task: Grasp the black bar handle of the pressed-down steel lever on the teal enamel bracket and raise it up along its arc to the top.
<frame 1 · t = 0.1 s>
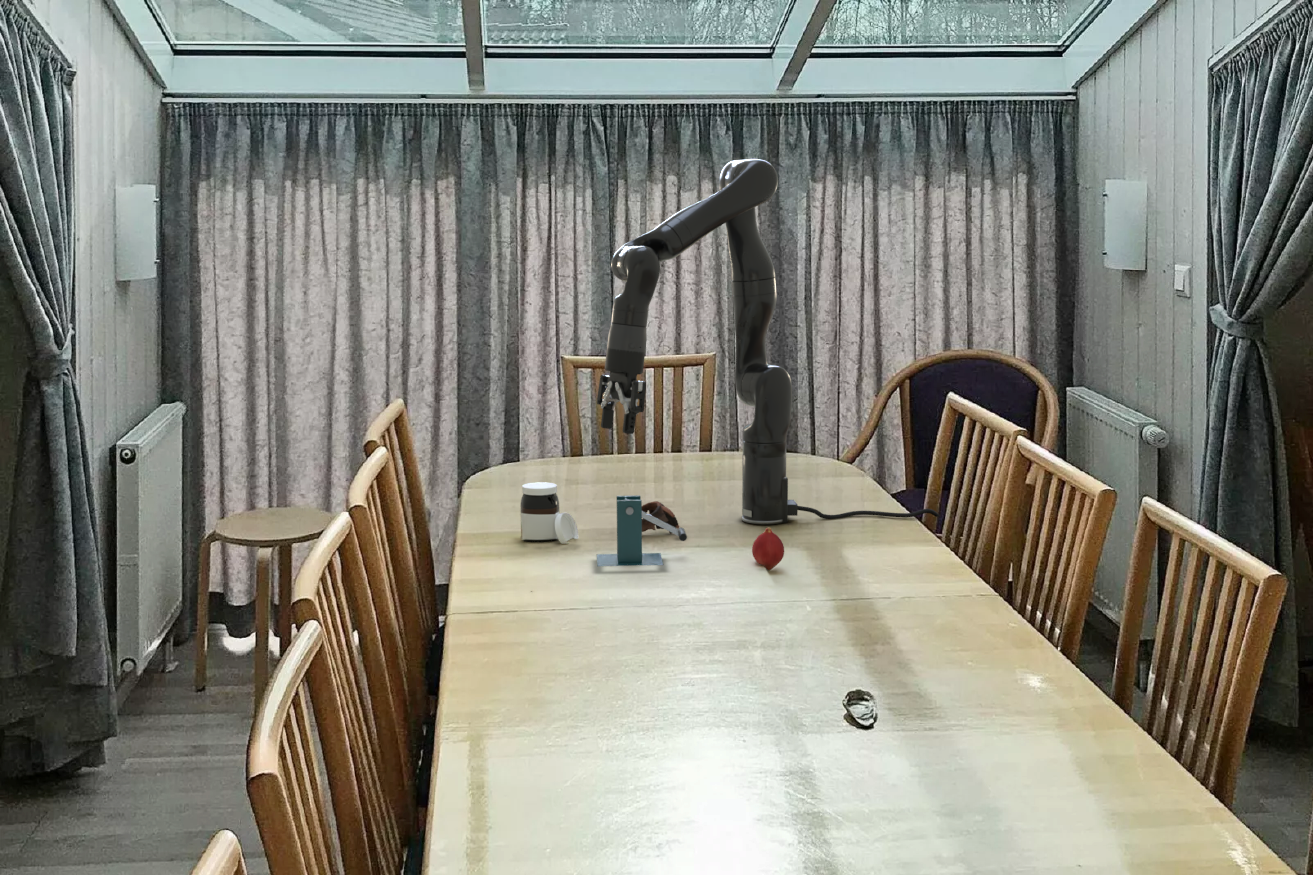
hand: (616, 430, 271), 22 cm above the table, tool pointing down, fingers open, 8 cm apart
spread jar: (549, 545, 273), on the table
lever: (653, 520, 254), point 9 cm above the table, hinge at -28.0°
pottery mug: (656, 537, 279), on the table
bracket: (629, 566, 255), on the table
onion: (768, 571, 251), on the table
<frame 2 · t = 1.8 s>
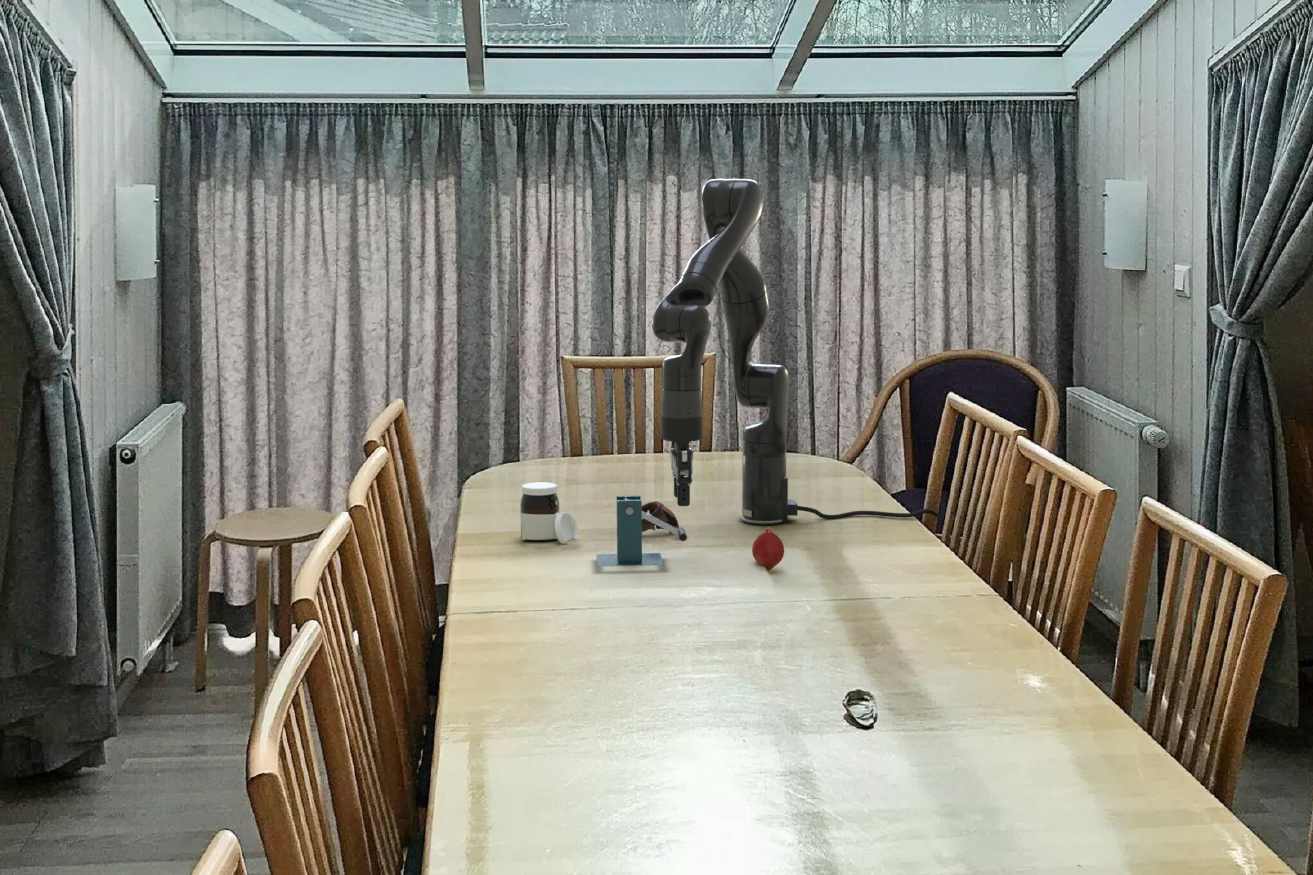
hand: (681, 501, 254), 12 cm above the table, tool pointing down, fingers open, 8 cm apart
nothing on the table moved.
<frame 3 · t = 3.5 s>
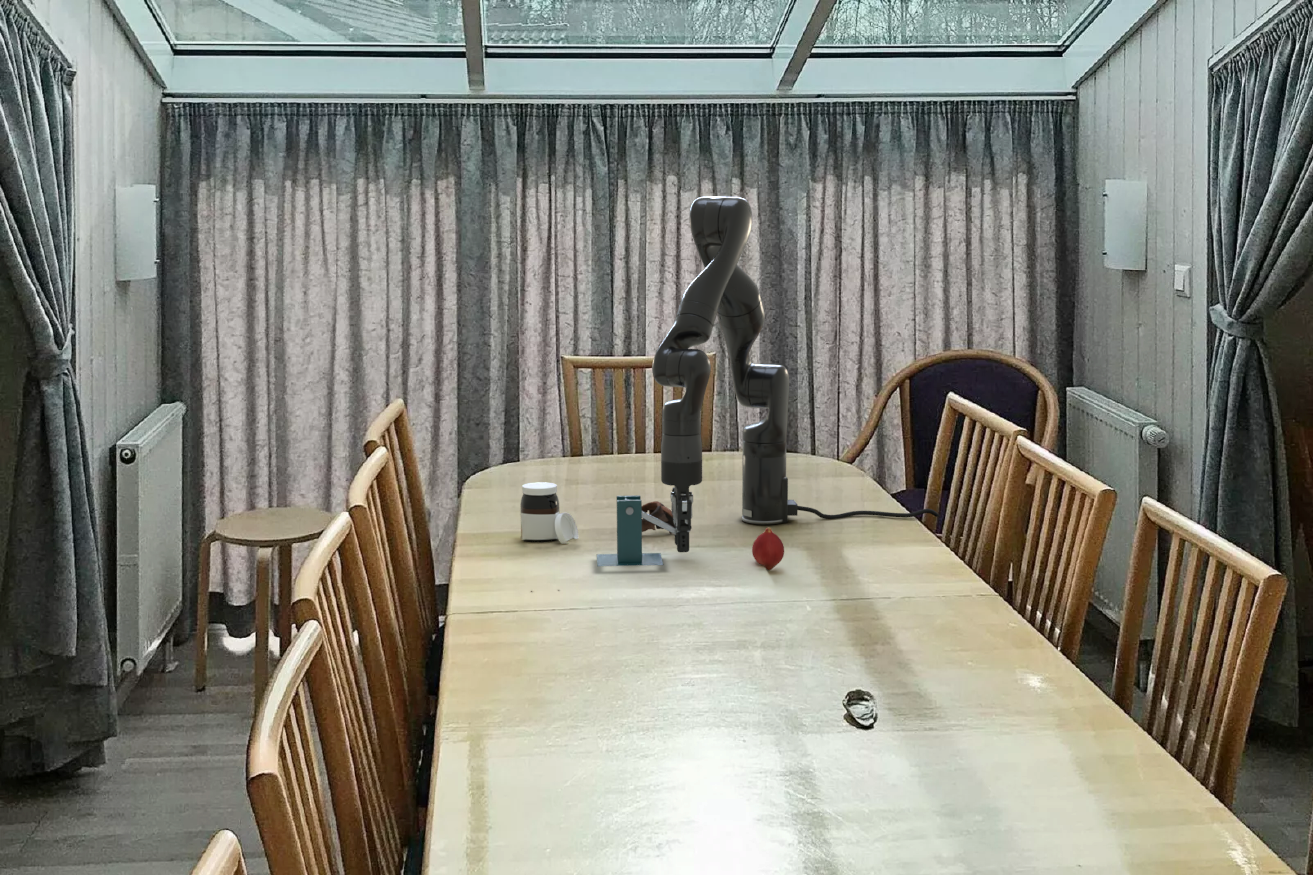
hand: (681, 547, 255), 3 cm above the table, tool pointing down, fingers closed on lever, 5 cm apart
lever: (653, 520, 254), point 9 cm above the table, hinge at -28.1°, touching gripper
everything else where it was.
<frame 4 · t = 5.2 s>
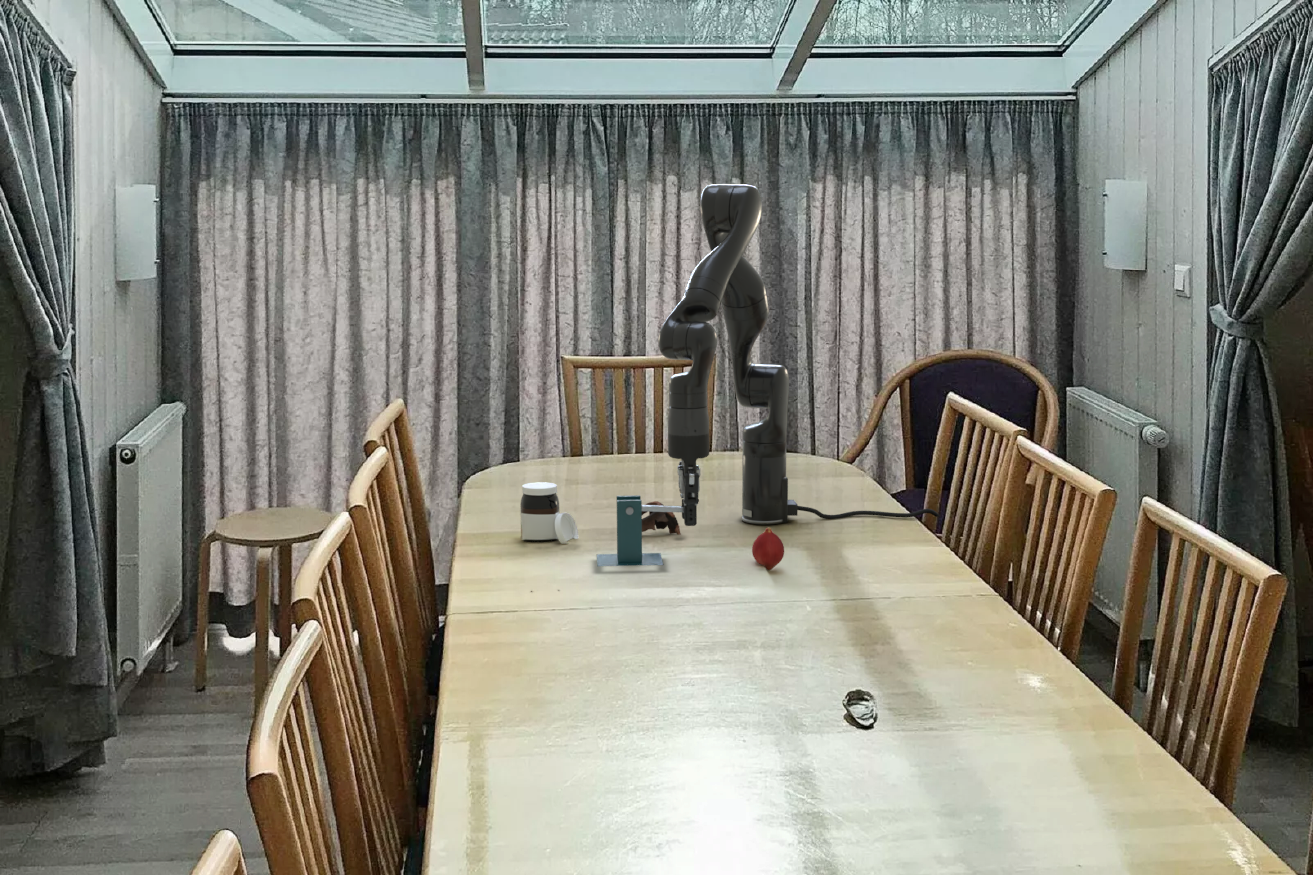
hand: (689, 521, 254), 8 cm above the table, tool pointing down, fingers closed on lever, 5 cm apart
lever: (657, 508, 254), point 11 cm above the table, hinge at -2.7°, touching gripper
everything else where it was.
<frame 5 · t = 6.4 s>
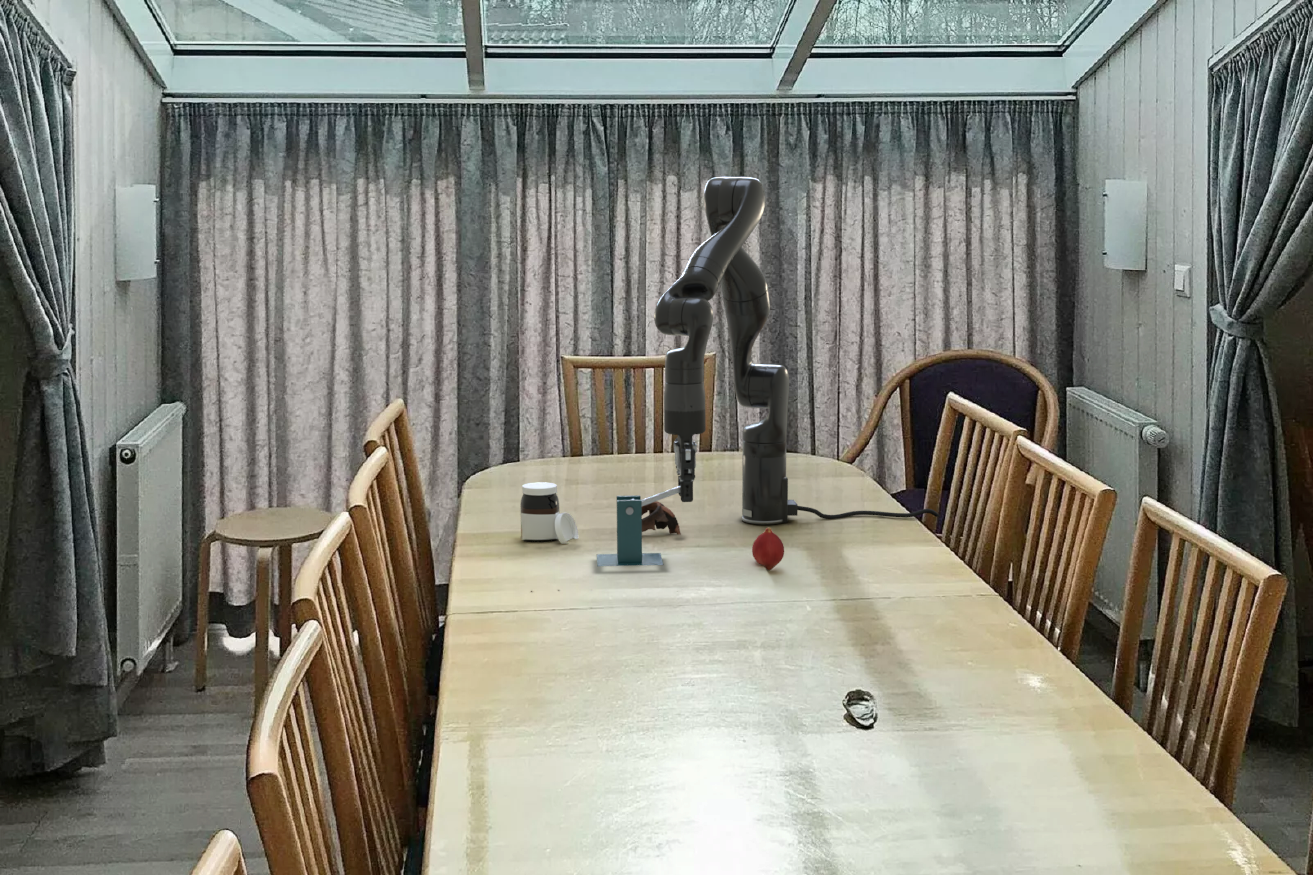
hand: (685, 498, 254), 13 cm above the table, tool pointing down, fingers closed on lever, 5 cm apart
lever: (655, 498, 253), point 13 cm above the table, hinge at 19.6°, touching gripper
everything else where it was.
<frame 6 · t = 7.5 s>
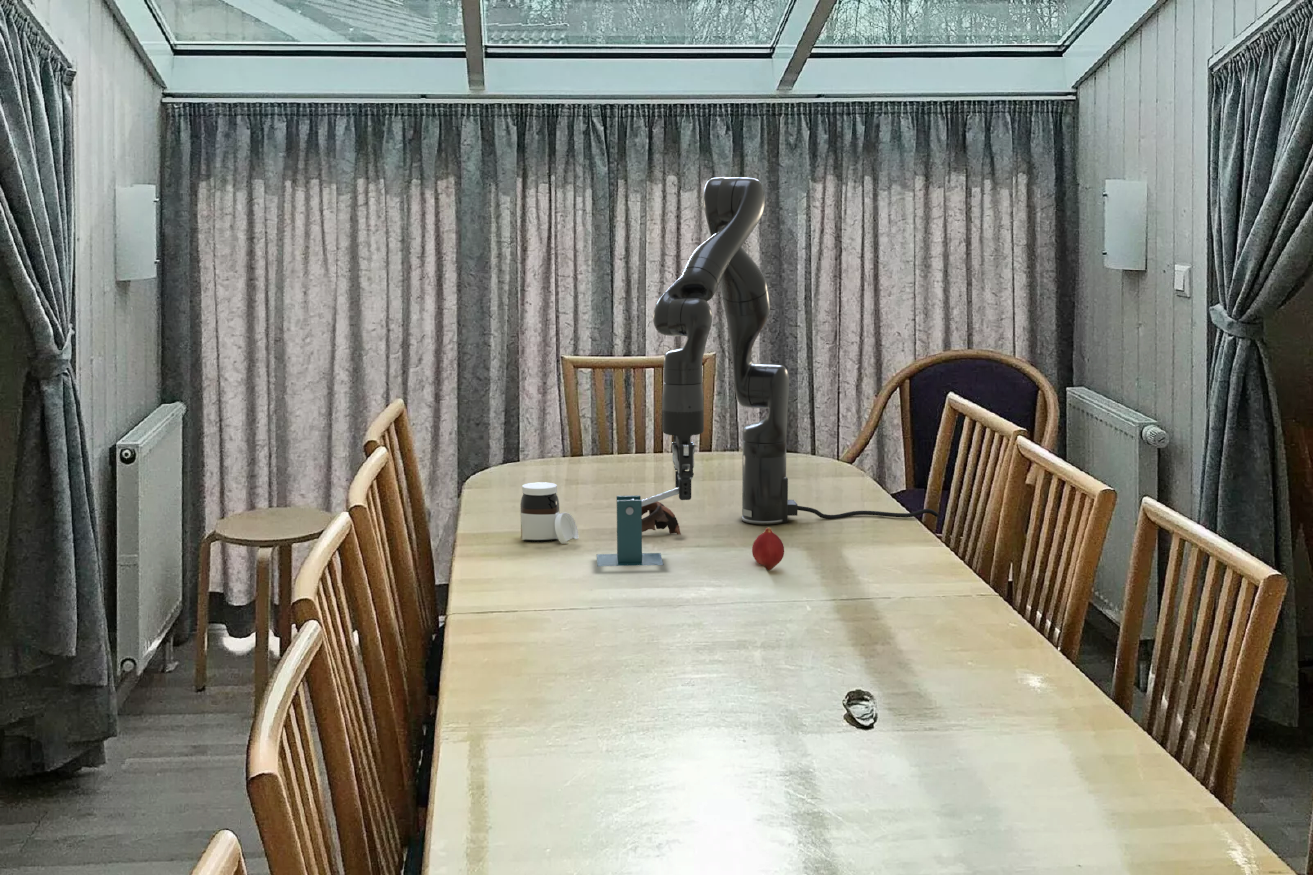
hand: (683, 495, 254), 13 cm above the table, tool pointing down, fingers open, 8 cm apart
lever: (655, 498, 253), point 13 cm above the table, hinge at 18.6°
everything else where it was.
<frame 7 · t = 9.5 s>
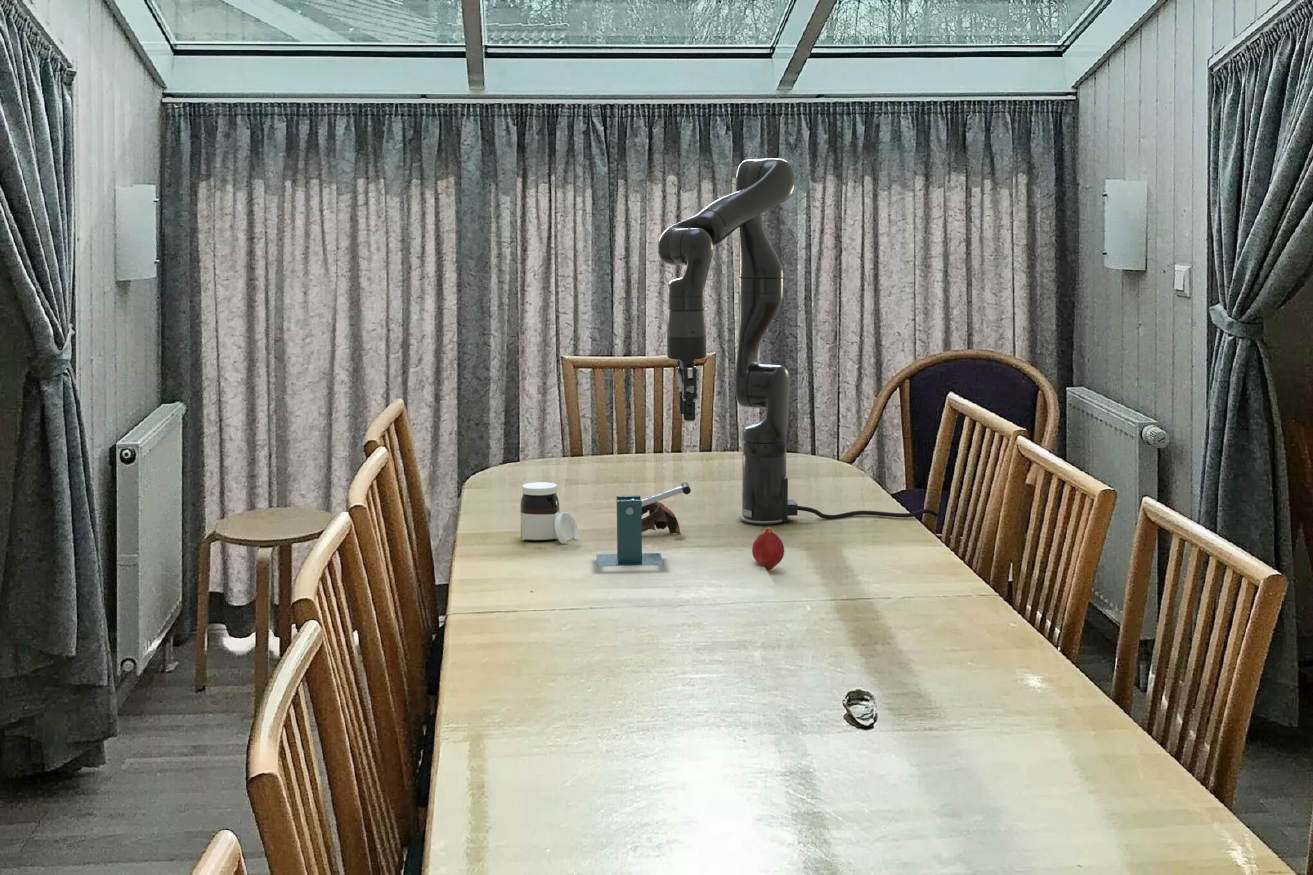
hand: (687, 417, 267), 25 cm above the table, tool pointing down, fingers open, 8 cm apart
nothing on the table moved.
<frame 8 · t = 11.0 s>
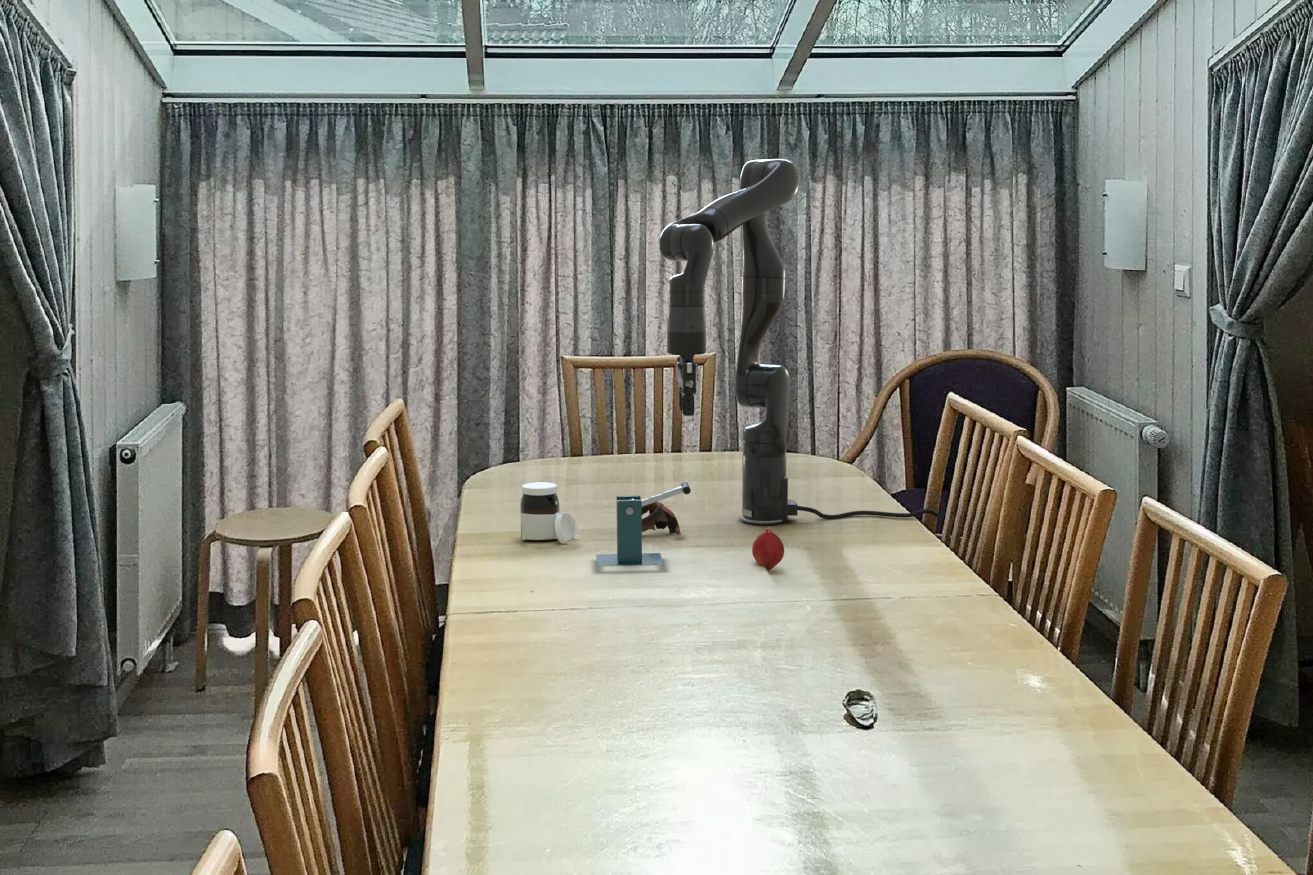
hand: (686, 412, 268), 26 cm above the table, tool pointing down, fingers open, 8 cm apart
nothing on the table moved.
at the end: lever at +19° (first picture: -28°) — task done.
